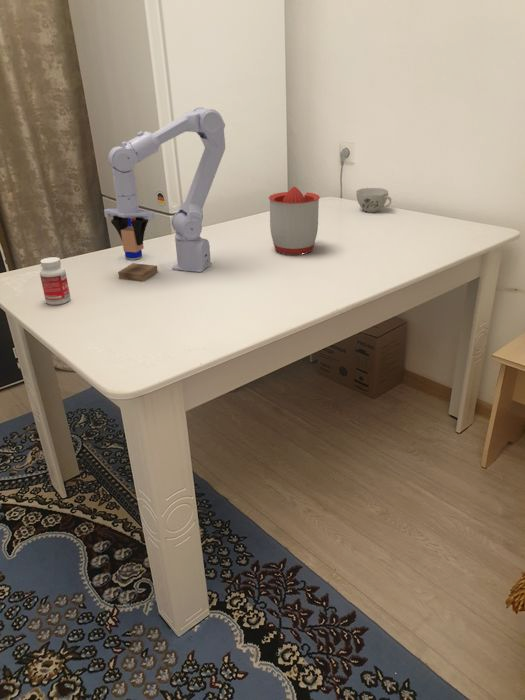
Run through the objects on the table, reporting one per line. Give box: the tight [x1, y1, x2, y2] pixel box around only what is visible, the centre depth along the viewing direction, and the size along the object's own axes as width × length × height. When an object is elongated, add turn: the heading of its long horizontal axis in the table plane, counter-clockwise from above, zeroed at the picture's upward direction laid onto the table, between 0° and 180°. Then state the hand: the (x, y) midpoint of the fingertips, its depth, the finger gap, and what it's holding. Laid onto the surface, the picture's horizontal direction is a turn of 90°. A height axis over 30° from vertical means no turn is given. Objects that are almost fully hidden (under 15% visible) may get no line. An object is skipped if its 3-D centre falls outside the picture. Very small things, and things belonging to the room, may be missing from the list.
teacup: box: [355, 187, 392, 213], centre depth 218 cm, size 15×12×8 cm
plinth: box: [117, 262, 159, 282], centre depth 158 cm, size 8×8×2 cm
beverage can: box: [124, 218, 143, 261], centre depth 170 cm, size 5×5×15 cm
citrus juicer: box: [268, 186, 321, 255], centre depth 173 cm, size 16×17×20 cm
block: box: [121, 226, 144, 252], centre depth 153 cm, size 4×4×6 cm
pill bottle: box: [39, 256, 71, 306], centre depth 140 cm, size 6×6×11 cm
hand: (133, 243), depth 154 cm, fingers closed on block, 4 cm apart
